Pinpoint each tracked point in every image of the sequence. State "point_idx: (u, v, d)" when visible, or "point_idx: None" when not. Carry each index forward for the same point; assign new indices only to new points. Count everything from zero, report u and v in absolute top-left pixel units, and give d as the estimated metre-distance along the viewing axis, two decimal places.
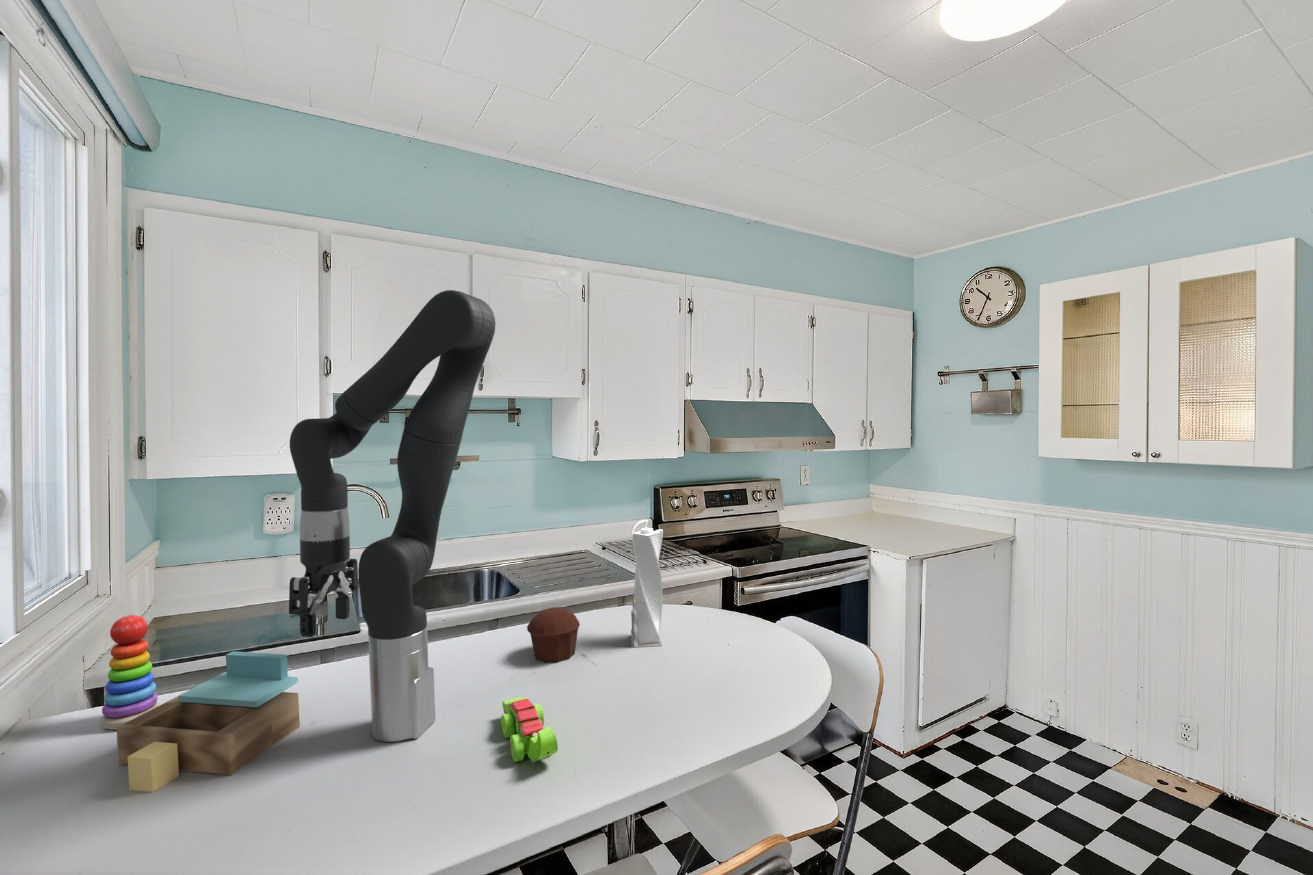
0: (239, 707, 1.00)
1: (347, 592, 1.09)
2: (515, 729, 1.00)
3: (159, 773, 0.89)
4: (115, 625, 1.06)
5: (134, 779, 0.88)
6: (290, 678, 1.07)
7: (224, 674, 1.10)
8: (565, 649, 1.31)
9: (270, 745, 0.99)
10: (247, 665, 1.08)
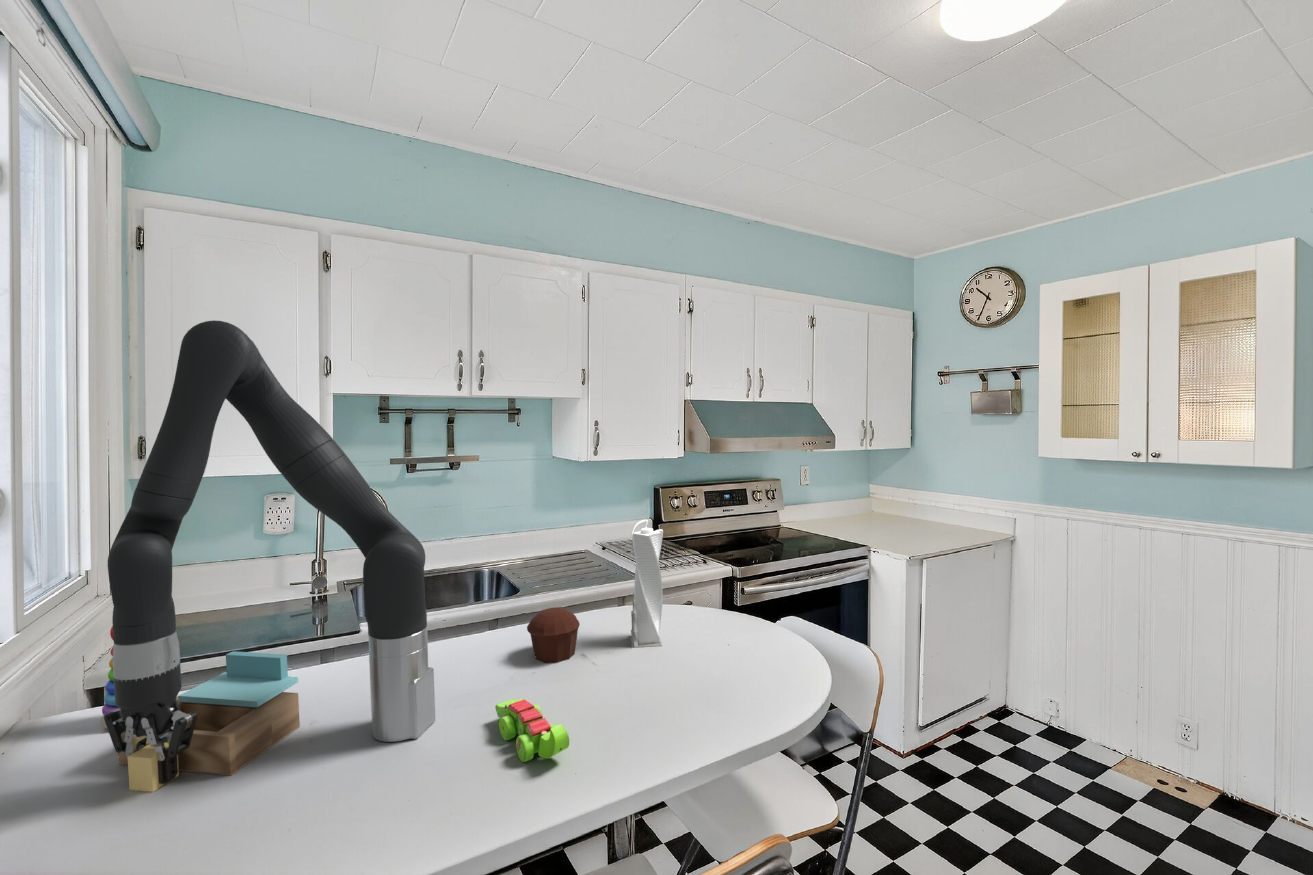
0: (239, 707, 1.00)
1: None
2: (516, 730, 1.00)
3: None
4: None
5: (134, 779, 0.88)
6: (290, 678, 1.07)
7: (224, 674, 1.10)
8: (565, 649, 1.31)
9: (270, 745, 0.99)
10: (247, 665, 1.08)
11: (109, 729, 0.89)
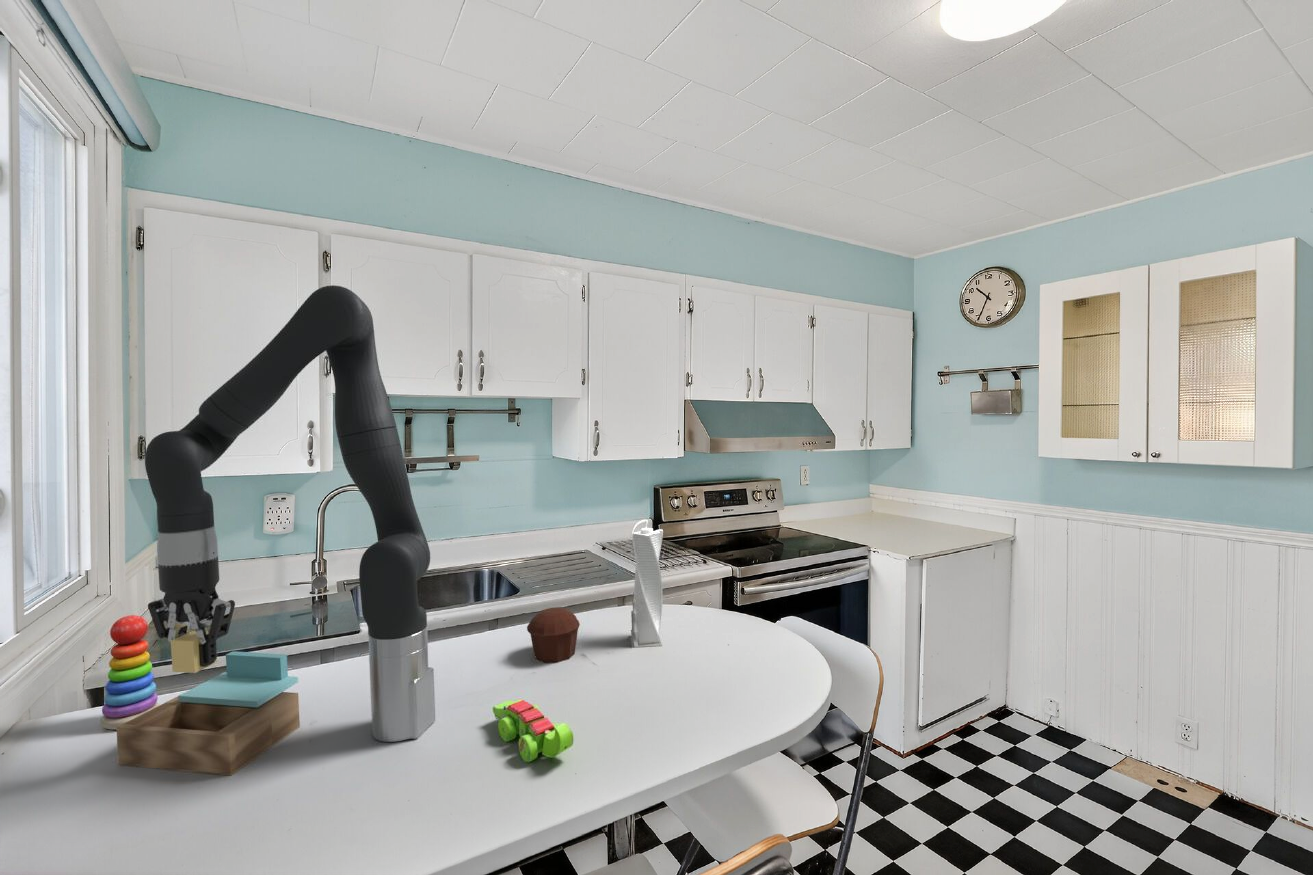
0: (239, 707, 1.00)
1: None
2: (517, 731, 0.99)
3: None
4: (115, 625, 1.06)
5: (177, 661, 0.94)
6: (290, 678, 1.07)
7: (224, 674, 1.10)
8: (565, 649, 1.31)
9: (270, 745, 0.99)
10: (247, 665, 1.08)
11: (153, 616, 0.96)
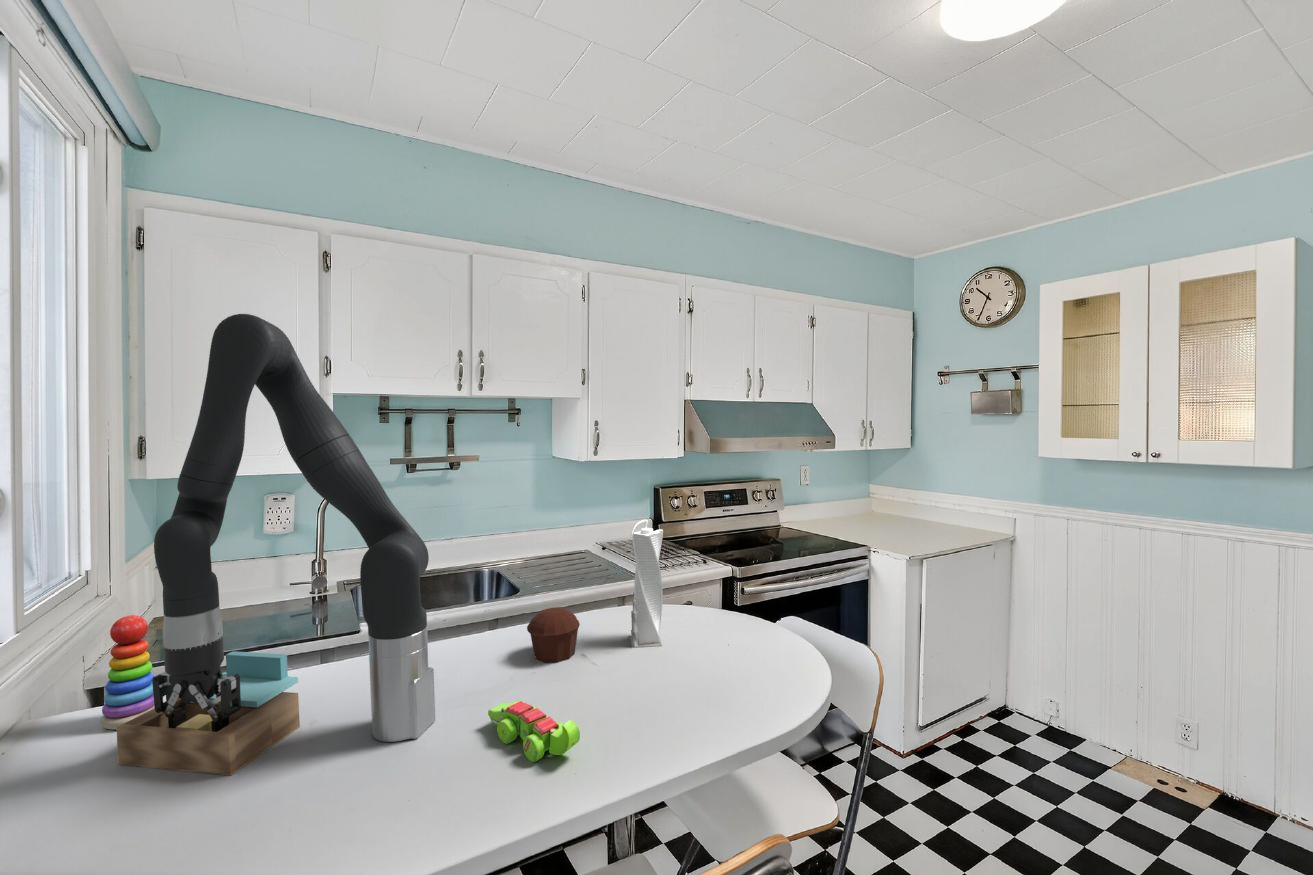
0: None
1: None
2: (517, 732, 0.99)
3: None
4: (115, 625, 1.06)
5: None
6: (290, 678, 1.07)
7: (224, 674, 1.10)
8: (565, 649, 1.31)
9: (270, 745, 0.99)
10: (247, 665, 1.08)
11: (154, 690, 0.97)
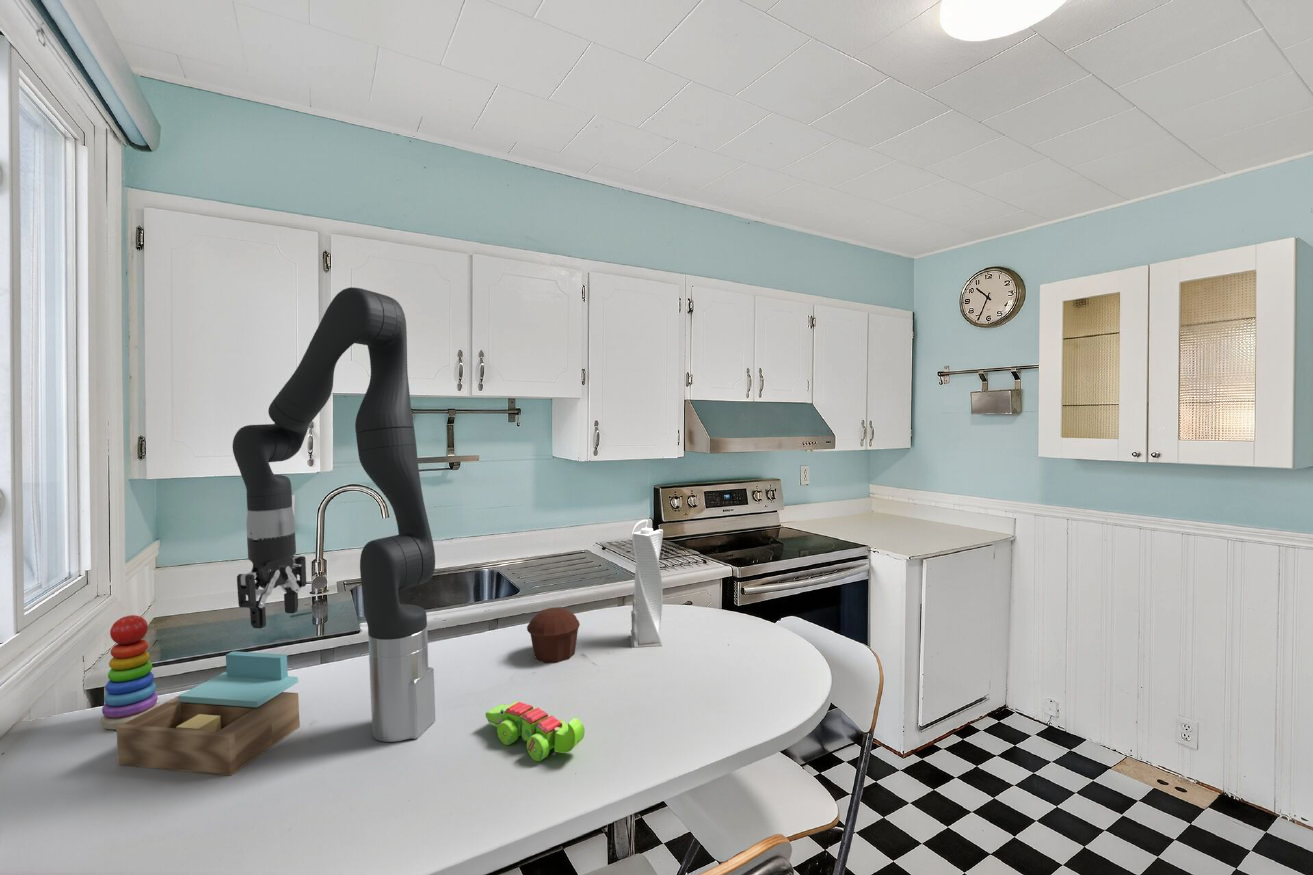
0: (239, 707, 1.00)
1: None
2: (519, 733, 0.99)
3: None
4: (115, 625, 1.06)
5: None
6: (290, 678, 1.07)
7: (224, 674, 1.10)
8: (565, 649, 1.31)
9: (270, 745, 0.99)
10: (247, 665, 1.08)
11: (250, 587, 1.06)
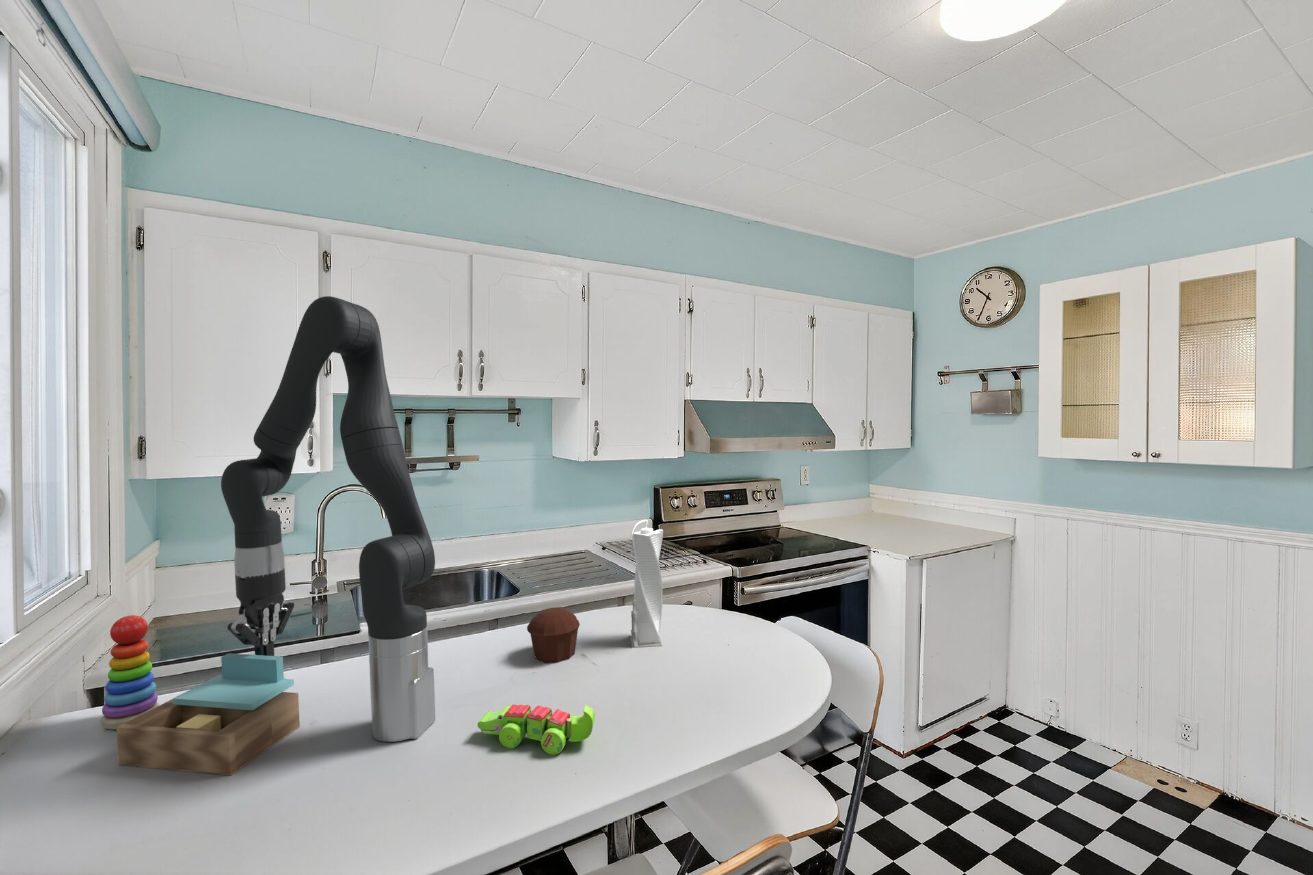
0: None
1: None
2: (523, 734, 0.99)
3: None
4: (115, 625, 1.06)
5: None
6: (286, 680, 1.07)
7: (220, 676, 1.09)
8: (565, 649, 1.31)
9: (270, 745, 0.99)
10: (243, 667, 1.07)
11: (246, 634, 1.05)
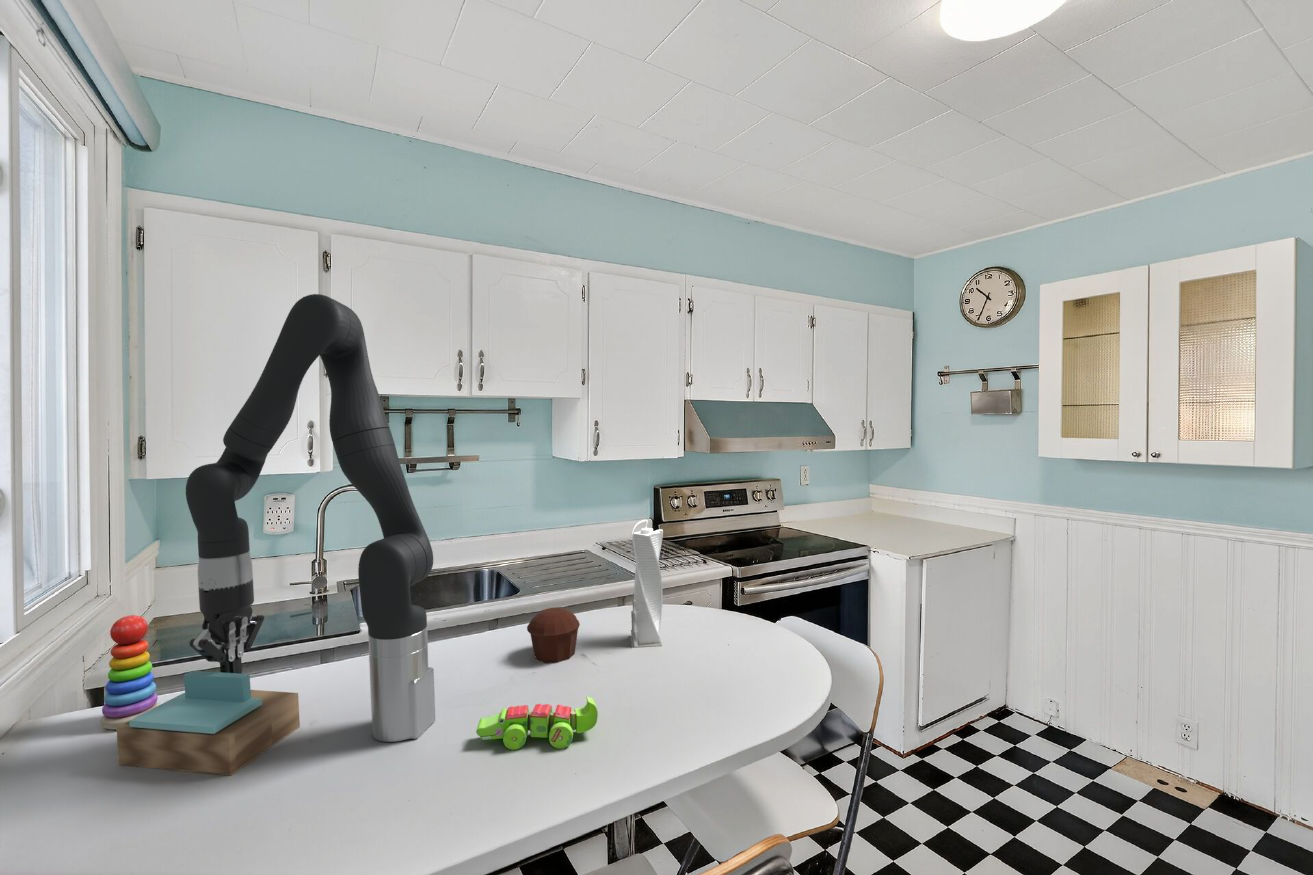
0: None
1: (220, 651, 1.02)
2: (526, 734, 0.99)
3: None
4: (115, 625, 1.06)
5: None
6: (253, 700, 1.00)
7: (183, 695, 1.02)
8: (565, 649, 1.31)
9: (270, 745, 0.99)
10: (207, 686, 1.00)
11: (210, 650, 0.98)
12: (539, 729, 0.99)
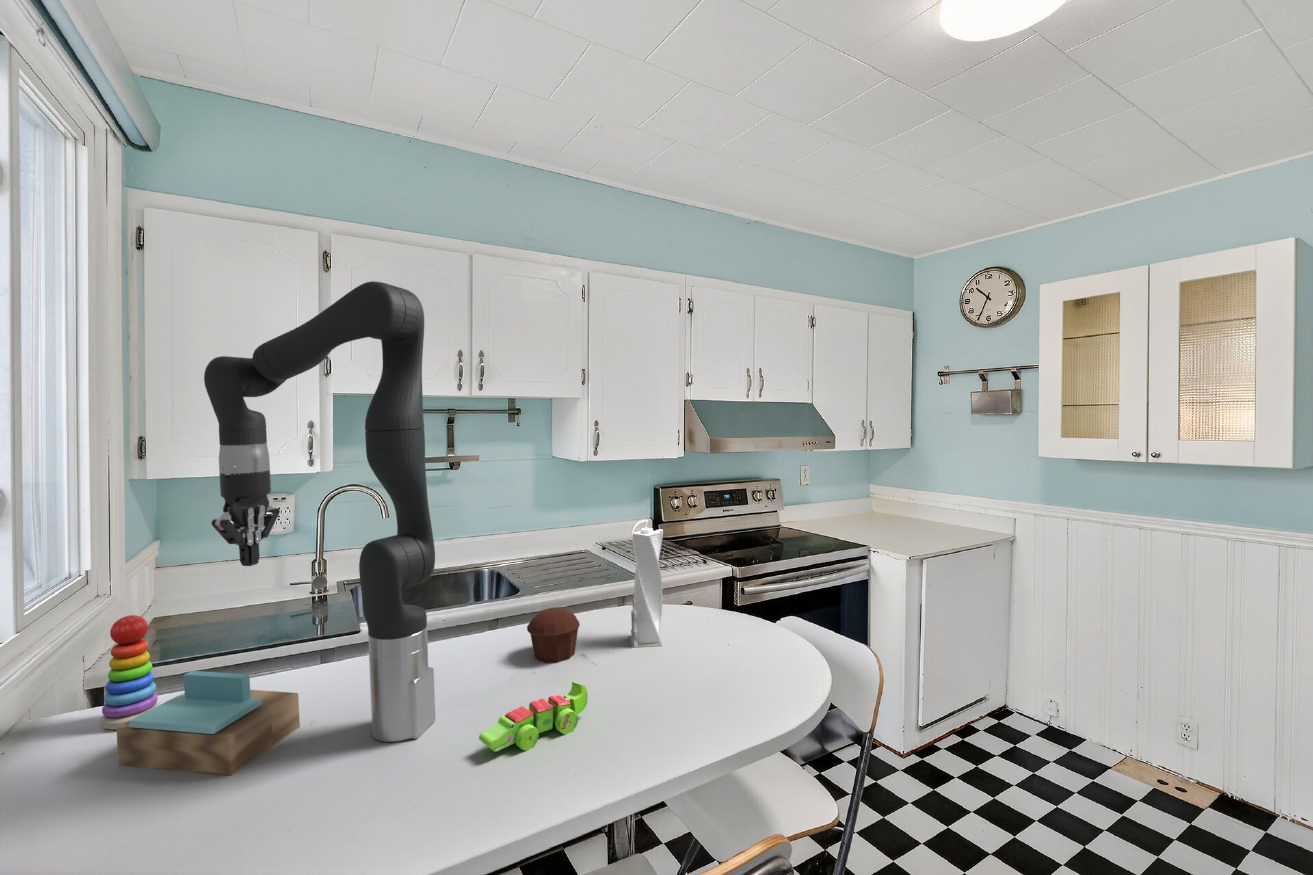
0: None
1: None
2: None
3: None
4: (115, 625, 1.06)
5: None
6: (253, 700, 1.00)
7: (182, 695, 1.02)
8: (565, 649, 1.31)
9: (270, 745, 0.99)
10: (206, 686, 1.00)
11: (231, 530, 1.04)
12: (545, 723, 1.01)
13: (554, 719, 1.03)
